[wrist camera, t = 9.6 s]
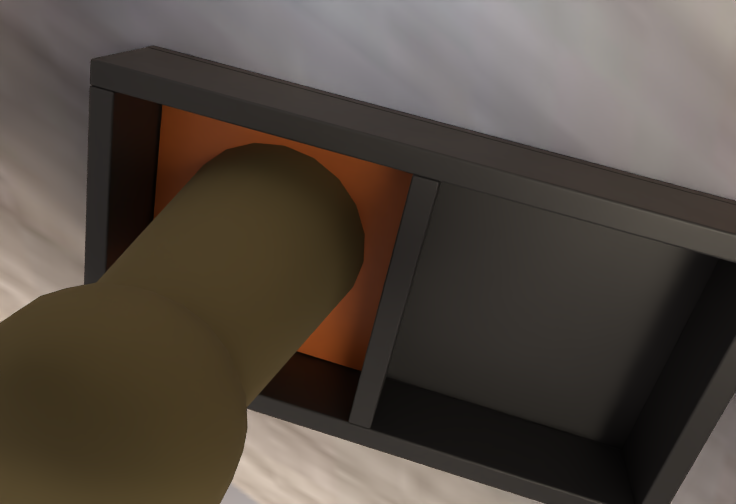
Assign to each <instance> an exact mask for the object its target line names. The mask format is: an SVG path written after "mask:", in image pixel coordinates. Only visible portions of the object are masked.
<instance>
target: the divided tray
mask: <svg viewBox="0 0 736 504" xmlns="http://www.w3.org/2000/svg"><path fill="white" fill-rule="evenodd" d="M90 84H91V85H92V86H90V95H89V130H88V166H87V202H86V238H85V273H84V285H86V284H92V283H96V282H97V281H98V280H99V279H100V278H101V277H102V276H103V275H104V274H105V272H106V271H107V270H108V269H109V268H110V267H111V266H112V265H113V264H114V263H115V261H116V260H117V259H118V258H119V257H120V256H121V255H122V254H123V253H124V252H125V250H126V249H127V248H128V247H129V246H130V245H131V244H132V243H133V242H134V241H135V239H136V238H137V237H138V236H139V235H140V234H141V233H142V232H143V231H144V230H145V229H146V227H147V226H148V225H149V224H150V223H151V222H152V221H153V220H154V219H155V218H156V216H157V215H158V214H159V213H160V212H161V211H162V210H163V209H164V208H165V207H166V205H167V204H168V203H169V202H170V201H171V200H172V199H173V198H174V197H175V196H176V195H177V193H178V192H179V191H180V190H181V189H182V188H183V187H184V186H185V185H186V184H187V182H188V181H189V180H190V179H191V178H192V177H193V176H194V175H195V174H196V173H197V171H198V170H199V169H200V168H201V167H202V166H203V165H204V164H206V163H207V162H208V161H210V160H211V159H213V158H214V157H216V156H217V155H219V154H220V153H222V152H223V151H225V150H226V149H230V148H234V147H238V146H243V145H247V144H251V143H263V144H273V145H284V146H287V147H289V148H291V149H294V150H296V151H298V152H301V153H303V154H306V155H308V156H310V157H313V158H314V159H316V160H317V161H318V162H319V163H320V164H322V165H323V166H324V167H325V168H326V169H328V170H329V171H330V172H331V173H332V174H334V175H335V176H336V177H337V178H338V179H339V180H340V181H341V183H342V184H343V186H344V187H345V189H346V190H347V192H348V193H349V195H350V196H351V198H352V199H353V201H354V202H355V204H356V206H357V209H358V213H359V216H360V220H361V223H362V227H363V230H364V233H365V238H364V261H363V264H362V267H361V269H360V272H359V274H358V277H357V279H356V281H355V284H354V286H353V288H352V289H351V290H350V291H349V292H348V293H347V294H346V296H345V297H344V298H343V299H342V300H341V301H340V302H339V304H338V305H337V306H336V307H335V308H334V309H333V310H332V312H331V313H330V314H329V315H328V316H327V317H326V318H325V319H324V321H323V322H322V323H321V324H320V325H319V326H318V327H317V329H316V330H315V331H314V332H313V333H312V334H311V335H310V336H309V338H308V339H307V340H306V341H305V342H304V343H303V344H302V346H301V347H300V348H299V349H298V350H297V351H296V352H295V354H294V355H293V356H292V357H291V358H290V359H289V360H288V361H287V363H286V364H285V365H284V366H283V367H282V368H281V369H280V371H279V372H278V373H277V374H276V375H275V376H274V377H273V378H272V380H271V381H270V382H269V383H268V384H267V385H266V386H265V388H264V389H263V390H262V391H261V392H260V393H259V394H258V396H257V397H256V398H255V399H254V400H253V401H252V402H251V403H250V405H249V406H248V407H247V409H250V410H253V411H256V412H259V413H263V414H266V415H269V416H272V417H275V418H278V419H281V420H285V421H288V422H291V423H294V424H297V425H300V426H303V427H307V428H310V429H313V430H316V431H319V432H322V433H325V434H329V435H332V436H335V437H338V438H341V439H344V440H347V441H350V442H354V443H357V444H360V445H363V446H366V447H369V448H372V449H376V450H379V451H382V452H385V453H388V454H391V455H394V456H398V457H401V458H404V459H407V460H410V461H413V462H416V463H420V464H423V465H426V466H429V467H432V468H435V469H438V470H442V471H445V472H448V473H451V474H454V475H457V476H460V477H463V478H467V479H470V480H473V481H476V482H479V483H482V484H485V485H489V486H492V487H495V488H498V489H501V490H504V491H507V492H511V493H514V494H517V495H520V496H523V497H526V498H529V499H533V500H536V501H539V502H542V503H545V504H670V503H671V501H672V499H673V498H674V496H675V494H676V492H677V491H678V489H679V487H680V486H681V484H682V482H683V480H684V479H685V477H686V475H687V474H688V472H689V470H690V468H691V467H692V465H693V463H694V462H695V460H696V458H697V456H698V455H699V453H700V451H701V450H702V448H703V446H704V444H705V443H706V441H707V439H708V438H709V436H710V434H711V432H712V431H713V429H714V427H715V426H716V424H717V422H718V420H719V419H720V417H721V415H722V414H723V412H724V410H725V408H726V407H727V405H728V403H729V401H730V400H731V398H732V396H733V395H734V393H735V391H736V201H732V200H729V199H725V198H721V197H717V196H714V195H710V194H706V193H702V192H699V191H695V190H691V189H688V188H684V187H680V186H676V185H673V184H669V183H665V182H661V181H658V180H654V179H650V178H646V177H643V176H639V175H635V174H631V173H628V172H624V171H620V170H617V169H613V168H609V167H605V166H602V165H598V164H594V163H590V162H587V161H583V160H579V159H575V158H572V157H568V156H564V155H560V154H557V153H553V152H549V151H545V150H542V149H538V148H534V147H531V146H527V145H523V144H519V143H516V142H512V141H508V140H504V139H501V138H497V137H493V136H489V135H486V134H482V133H478V132H474V131H471V130H467V129H463V128H460V127H456V126H452V125H448V124H445V123H441V122H437V121H433V120H430V119H426V118H422V117H418V116H415V115H411V114H407V113H403V112H400V111H396V110H392V109H389V108H385V107H381V106H377V105H374V104H370V103H366V102H362V101H359V100H355V99H351V98H347V97H344V96H340V95H336V94H332V93H329V92H325V91H321V90H317V89H314V88H310V87H306V86H303V85H299V84H295V83H291V82H288V81H284V80H280V79H276V78H273V77H269V76H265V75H261V74H258V73H254V72H250V71H246V70H243V69H239V68H235V67H232V66H228V65H224V64H220V63H217V62H213V61H209V60H205V59H202V58H198V57H194V56H190V55H187V54H183V53H179V52H175V51H172V50H168V49H164V48H161V47H157V46H148V47H145V48H140V49H136V50H131V51H126V52H121V53H117V54H112V55H107V56H103V57H98V58H93V59H91V66H90Z"/></svg>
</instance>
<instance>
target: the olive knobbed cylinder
mask: <svg viewBox="0 0 736 504" xmlns="http://www.w3.org/2000/svg"><path fill="white" fill-rule="evenodd" d="M364 238H365V233H364V230H363V227H362V223H361V220H360V216H359V213H358V209H357V206H356V204H355V202H354V201H353V199H352V198H351V196H350V195H349V193H348V192H347V190H346V189H345V187H344V186H343V184H342V183H341V181H340V180H339V179H338V178H337V177H336V176H335V175H334V174H332V173H331V172H330V171H329V170H328V169H326V168H325V167H324V166H323V165H322V164H320V163H319V162H318V161H317V160H316V159H314V158H313V157H310V156H308V155H306V154H303V153H301V152H298V151H296V150H294V149H291V148H289V147H287V146H284V145H273V144H263V143H251V144H247V145H243V146H238V147H234V148H230V149H226V150H225V151H223V152H222V153H220V154H219V155H217V156H216V157H214V158H213V159H211V160H210V161H208V162H207V163H206V164H204V165H203V166H202V167H201V168H200V169H199V170H198V171H197V173H196V174H195V175H194V176H193V177H192V178H191V179H190V180H189V181H188V182H187V184H186V185H185V186H184V187H183V188H182V189H181V190H180V191H179V192H178V193H177V195H176V196H175V197H174V198H173V199H172V200H171V201H170V202H169V203H168V204H167V205H166V207H165V208H164V209H163V210H162V211H161V212H160V213H159V214H158V215H157V216H156V218H155V219H154V220H153V221H152V222H151V223H150V224H149V225H148V226H147V227H146V229H145V230H144V231H143V232H142V233H141V234H140V235H139V236H138V237H137V238H136V239H135V241H134V242H133V243H132V244H131V245H130V246H129V247H128V248H127V249H126V250H125V252H124V253H123V254H122V255H121V256H120V257H119V258H118V259H117V260H116V261H115V263H114V264H113V265H112V266H111V267H110V268H109V269H108V270H107V271H106V272H105V274H104V275H103V276H102V277H101V278H100V279H99V280H98V281H97V282H96V283H92V284H86V285H81V286H76V287H70V288H65V289H62V290H59V291H56V292H52V293H49V294H46V295H42V296H40V297H38V298H37V299H35V300H34V301H32V302H31V303H29V304H28V305H26V306H25V307H23V308H22V309H20V310H19V311H17V312H16V313H14V314H13V315H11V316H10V317H8V318H7V319H5V320H4V321H2V322H1V323H0V504H220V503H221V500H222V499H223V497H224V495H225V493H226V491H227V489H228V487H229V485H230V483H231V481H232V479H233V477H234V474H235V471H236V469H237V466H238V463H239V461H240V458H241V455H242V452H243V449H244V444H245V438H246V433H247V407H248V406H249V405H250V403H251V402H252V401H253V400H254V399H255V398H256V397H257V396H258V394H259V393H260V392H261V391H262V390H263V389H264V388H265V386H266V385H267V384H268V383H269V382H270V381H271V380H272V378H273V377H274V376H275V375H276V374H277V373H278V372H279V371H280V369H281V368H282V367H283V366H284V365H285V364H286V363H287V361H288V360H289V359H290V358H291V357H292V356H293V355H294V354H295V352H296V351H297V350H298V349H299V348H300V347H301V346H302V344H303V343H304V342H305V341H306V340H307V339H308V338H309V336H310V335H311V334H312V333H313V332H314V331H315V330H316V329H317V327H318V326H319V325H320V324H321V323H322V322H323V321H324V319H325V318H326V317H327V316H328V315H329V314H330V313H331V312H332V310H333V309H334V308H335V307H336V306H337V305H338V304H339V302H340V301H341V300H342V299H343V298H344V297H345V296H346V294H347V293H348V292H349V291H350V290H351V289H352V288H353V286H354V284H355V281H356V279H357V277H358V274H359V272H360V269H361V267H362V264H363V261H364Z"/></svg>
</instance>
